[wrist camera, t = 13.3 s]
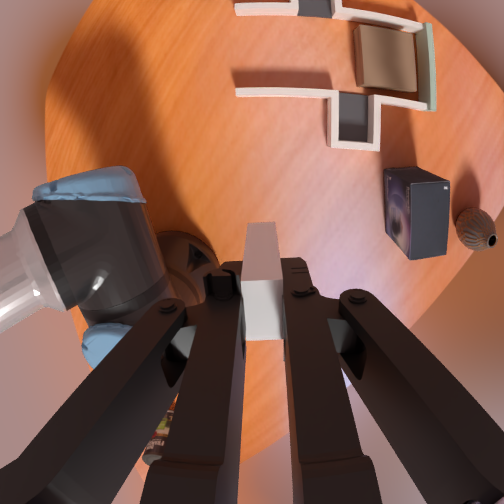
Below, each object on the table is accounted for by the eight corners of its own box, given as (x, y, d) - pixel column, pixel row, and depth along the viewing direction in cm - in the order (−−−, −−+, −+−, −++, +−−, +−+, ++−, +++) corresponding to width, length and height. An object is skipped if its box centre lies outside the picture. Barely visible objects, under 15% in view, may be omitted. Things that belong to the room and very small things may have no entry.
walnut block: (356, 86, 37) (364, 84, 34) (352, 31, 34) (359, 24, 30) (405, 92, 37) (416, 91, 33) (401, 39, 33) (412, 33, 30)
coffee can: (148, 414, 69) (133, 456, 56) (175, 405, 66) (161, 452, 53) (175, 434, 72) (164, 475, 59) (202, 427, 69) (193, 471, 56)
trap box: (238, 144, 42) (236, 146, 38) (236, -26, 31) (233, -37, 27) (421, 155, 40) (434, 158, 37) (415, -6, 29) (425, -14, 25)
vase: (457, 198, 42) (486, 214, 34) (483, 209, 43) (512, 225, 35) (445, 235, 45) (471, 257, 37) (471, 243, 45) (497, 264, 37)
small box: (380, 168, 42) (409, 182, 32) (417, 165, 41) (452, 179, 31) (383, 233, 46) (408, 262, 36) (418, 229, 45) (448, 255, 36)
